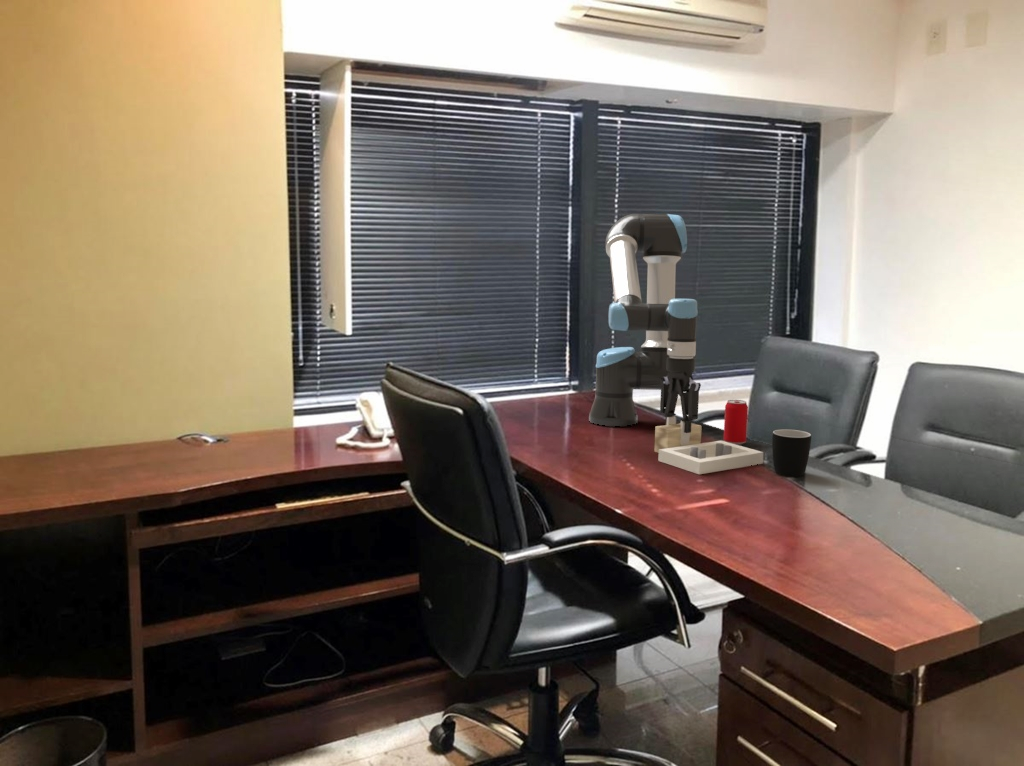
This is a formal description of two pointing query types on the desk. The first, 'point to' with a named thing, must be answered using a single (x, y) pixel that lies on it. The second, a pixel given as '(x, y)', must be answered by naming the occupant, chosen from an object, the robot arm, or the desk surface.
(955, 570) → the desk surface
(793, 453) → the mug
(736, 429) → the beverage can
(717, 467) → the peg frame
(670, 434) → the wooden block
